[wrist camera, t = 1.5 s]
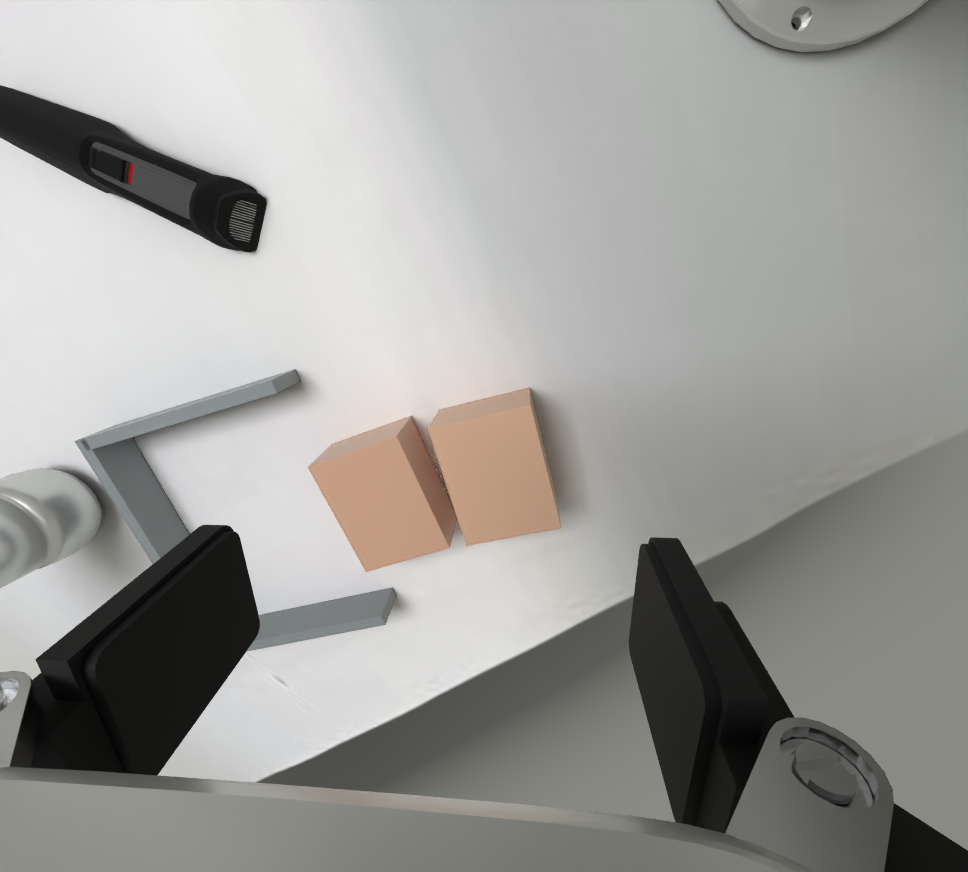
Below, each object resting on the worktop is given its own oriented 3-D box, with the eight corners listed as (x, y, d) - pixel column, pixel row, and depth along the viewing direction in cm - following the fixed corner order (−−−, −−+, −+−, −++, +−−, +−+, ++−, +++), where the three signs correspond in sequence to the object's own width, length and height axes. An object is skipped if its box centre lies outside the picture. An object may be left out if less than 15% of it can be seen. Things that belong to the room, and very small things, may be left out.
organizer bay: (295, 369, 29) (270, 380, 27) (396, 596, 35) (385, 624, 32) (113, 425, 32) (74, 441, 29) (236, 628, 38) (213, 657, 35)
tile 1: (411, 414, 30) (396, 436, 26) (457, 515, 33) (449, 547, 29) (333, 442, 31) (307, 467, 28) (383, 537, 34) (366, 571, 30)
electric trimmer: (9, 71, 25) (-60, 45, 22) (272, 193, 26) (238, 184, 23) (7, 144, 27) (-58, 129, 24) (257, 258, 28) (224, 257, 25)
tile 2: (529, 386, 29) (530, 404, 25) (556, 496, 31) (561, 527, 28) (439, 408, 30) (427, 429, 26) (472, 513, 32) (466, 545, 29)
